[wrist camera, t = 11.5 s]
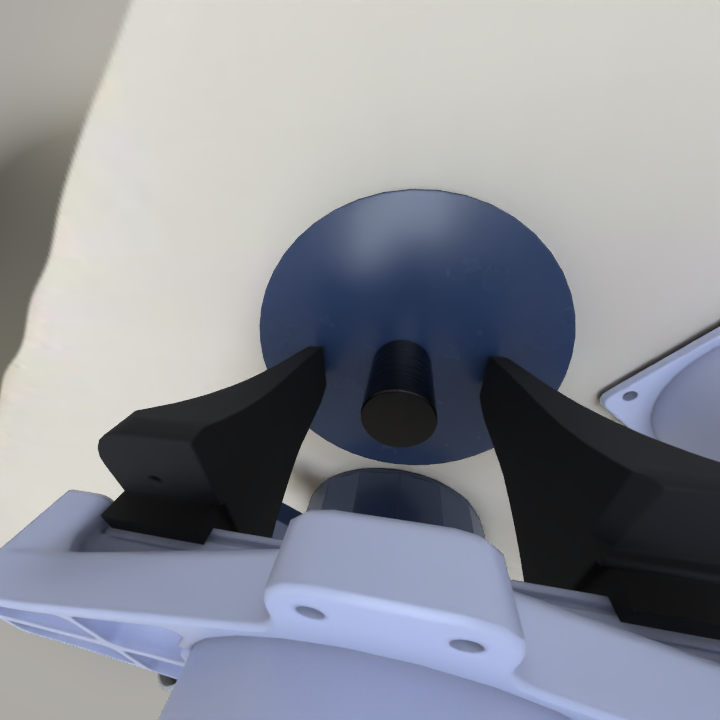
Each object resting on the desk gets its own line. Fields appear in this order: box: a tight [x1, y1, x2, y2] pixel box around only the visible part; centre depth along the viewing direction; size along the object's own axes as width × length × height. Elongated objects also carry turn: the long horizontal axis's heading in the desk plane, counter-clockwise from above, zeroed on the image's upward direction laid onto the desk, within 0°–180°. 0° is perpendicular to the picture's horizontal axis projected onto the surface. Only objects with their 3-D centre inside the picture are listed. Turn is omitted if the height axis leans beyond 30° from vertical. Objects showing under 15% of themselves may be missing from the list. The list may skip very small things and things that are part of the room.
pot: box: [272, 469, 485, 540], centre depth 19 cm, size 13×18×5 cm
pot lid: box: [260, 189, 575, 465], centre depth 11 cm, size 13×13×5 cm
